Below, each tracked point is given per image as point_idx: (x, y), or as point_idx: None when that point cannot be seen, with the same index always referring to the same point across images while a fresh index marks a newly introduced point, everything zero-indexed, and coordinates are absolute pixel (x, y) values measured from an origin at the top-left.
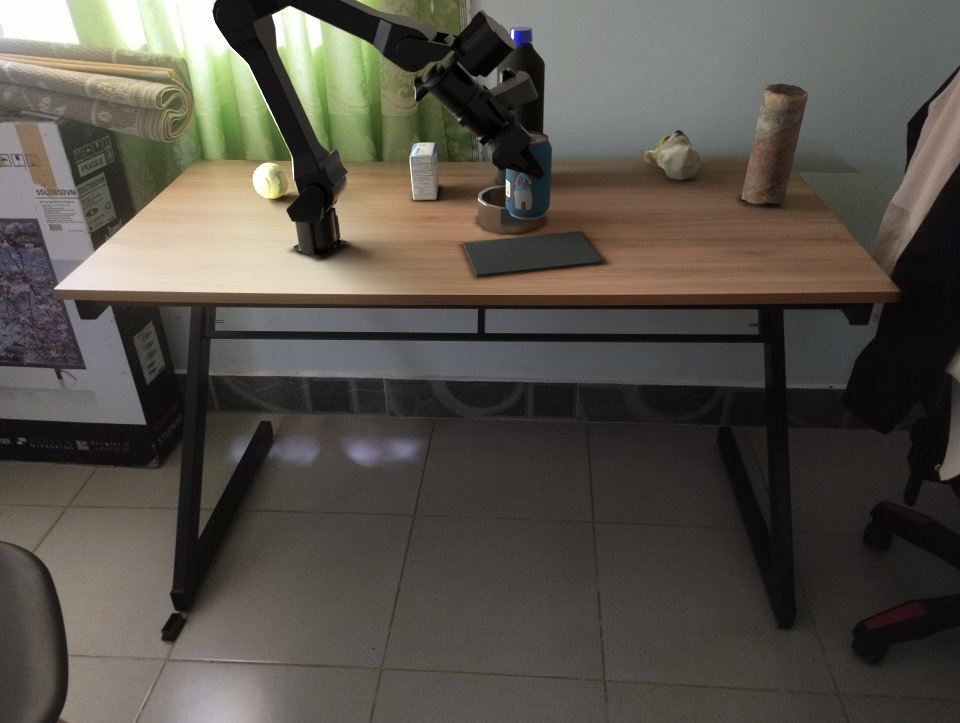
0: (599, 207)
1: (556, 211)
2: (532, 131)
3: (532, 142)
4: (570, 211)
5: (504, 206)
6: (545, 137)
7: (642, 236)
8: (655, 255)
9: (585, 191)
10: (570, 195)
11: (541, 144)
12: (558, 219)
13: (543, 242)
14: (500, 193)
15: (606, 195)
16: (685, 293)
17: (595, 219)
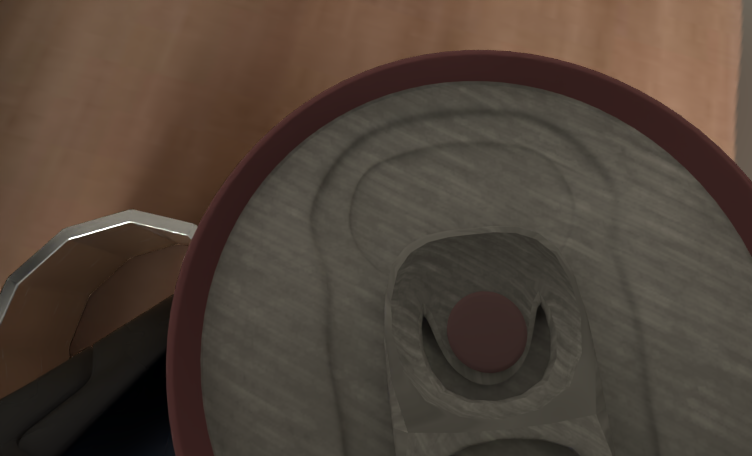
0: (164, 53)
1: (148, 179)
2: (210, 214)
3: (662, 321)
4: (163, 138)
5: (60, 345)
6: (444, 91)
7: (392, 4)
8: (515, 8)
9: (31, 59)
10: (42, 108)
11: (724, 205)
12: (211, 188)
13: None
14: (17, 365)
15: (86, 13)
16: (738, 8)
17: (246, 86)
